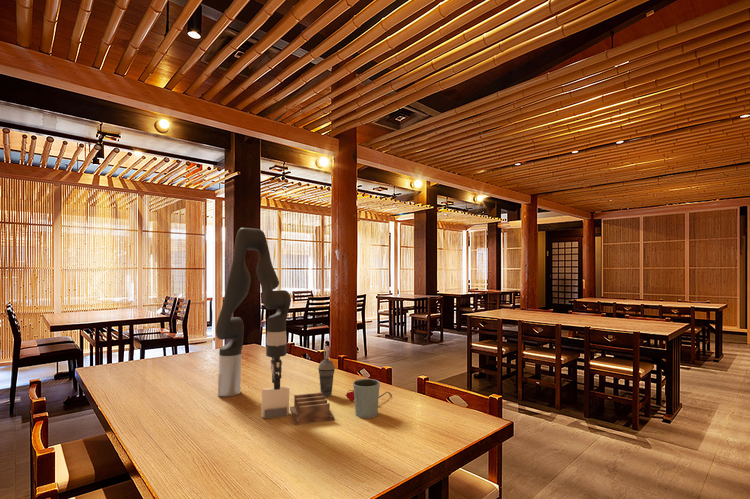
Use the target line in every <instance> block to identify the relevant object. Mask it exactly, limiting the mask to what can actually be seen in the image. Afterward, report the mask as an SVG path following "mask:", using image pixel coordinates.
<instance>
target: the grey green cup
mask: <svg viewBox="0 0 750 499" xmlns="http://www.w3.org/2000/svg"><path fill="white" fill-rule="evenodd" d="M380 383H381V382H380V381H379V380H377V379H373V378H360V379H357V380H354V381H353V383H352V385H353V386H352V387H353V390H354V396H355V397H354V398H355V400H354V411H355V416H356V417H358V418H361V419H372V418H376V417H377V416H378V413H379V399H380V397H379V396H380Z"/></svg>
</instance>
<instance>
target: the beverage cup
mask: <svg viewBox="0 0 750 499" xmlns="http://www.w3.org/2000/svg"><path fill="white" fill-rule="evenodd" d="M323 356H324V359H323V360H321V361H320V363H319V365H318V368H317V370H318V376H319V386H320V387H319V388H320V389H319V391H320V392H322V393H323V396H325V398H330V397H332V394H333V385H334V384H333V383H334V376H335V375H334V374H335V369H336V368H335V365H334V364H335V363H334V362H333V361H332V359H329V358H327V357H326V349H325V348H324V349H323Z"/></svg>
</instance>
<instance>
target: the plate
mask: <svg viewBox="0 0 750 499" xmlns="http://www.w3.org/2000/svg"><path fill="white" fill-rule="evenodd" d="M260 403H261V407H260V408H261V409H260V410H261V411H260V412H261V413H260V414H261V415H260V416H261V418H262V419H263V418H264V414H265V410H266V409H275V408H284V407H287V416H289V415H290V386H289V385H288V386H280V389H279V390H274V387H268V388H267V387H266V388H261V402H260Z"/></svg>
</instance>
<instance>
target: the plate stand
mask: <svg viewBox="0 0 750 499" xmlns="http://www.w3.org/2000/svg"><path fill="white" fill-rule="evenodd" d="M287 416H288V415H287V407H284V408H275V409H266V410H265V414H264V417H263V418H264V419H265V420H266V419H273V418H283V417H287Z"/></svg>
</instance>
